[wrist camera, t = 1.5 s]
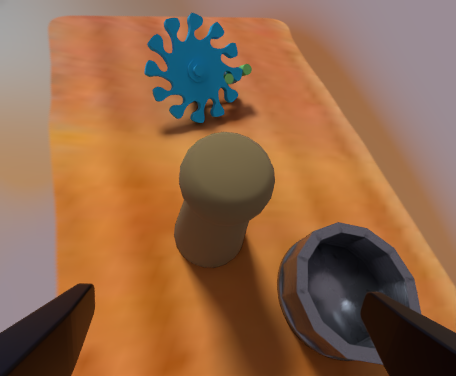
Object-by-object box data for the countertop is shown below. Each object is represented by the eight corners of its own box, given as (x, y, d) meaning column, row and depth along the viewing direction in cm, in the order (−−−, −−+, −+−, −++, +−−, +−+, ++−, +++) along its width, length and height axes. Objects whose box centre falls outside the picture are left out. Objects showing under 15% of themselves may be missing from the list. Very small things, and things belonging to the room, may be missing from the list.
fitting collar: (395, 369, 20) (436, 377, 16) (273, 348, 19) (292, 353, 16) (378, 246, 24) (407, 234, 21) (280, 226, 24) (295, 211, 20)
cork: (254, 219, 24) (306, 146, 14) (225, 281, 21) (265, 242, 11) (196, 189, 24) (208, 98, 14) (159, 245, 21) (143, 177, 12)
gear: (150, 124, 25) (141, 1, 22) (143, 121, 30) (134, 22, 27) (252, 122, 29) (256, 20, 26) (230, 120, 34) (231, 35, 31)
